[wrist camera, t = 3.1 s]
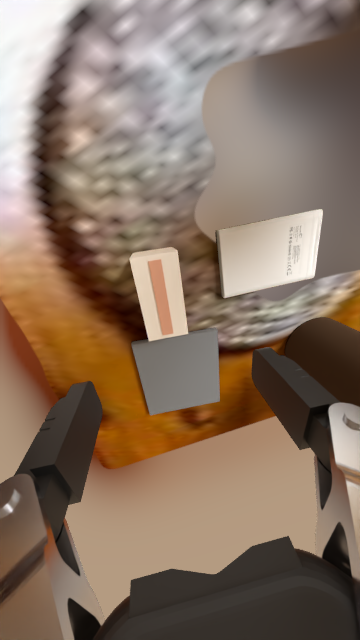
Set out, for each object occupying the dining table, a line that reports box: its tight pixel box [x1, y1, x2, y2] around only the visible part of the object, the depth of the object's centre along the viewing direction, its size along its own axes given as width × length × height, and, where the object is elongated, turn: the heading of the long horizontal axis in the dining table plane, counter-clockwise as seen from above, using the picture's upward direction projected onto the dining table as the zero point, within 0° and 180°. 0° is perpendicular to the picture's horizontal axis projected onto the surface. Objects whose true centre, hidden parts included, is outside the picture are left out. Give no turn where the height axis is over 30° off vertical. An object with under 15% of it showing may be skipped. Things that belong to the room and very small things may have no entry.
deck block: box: [129, 247, 188, 341], centre depth 22 cm, size 9×4×5 cm, turn 8°
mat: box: [132, 328, 220, 415], centre depth 30 cm, size 14×12×1 cm
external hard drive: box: [215, 209, 323, 298], centre depth 24 cm, size 2×8×12 cm
